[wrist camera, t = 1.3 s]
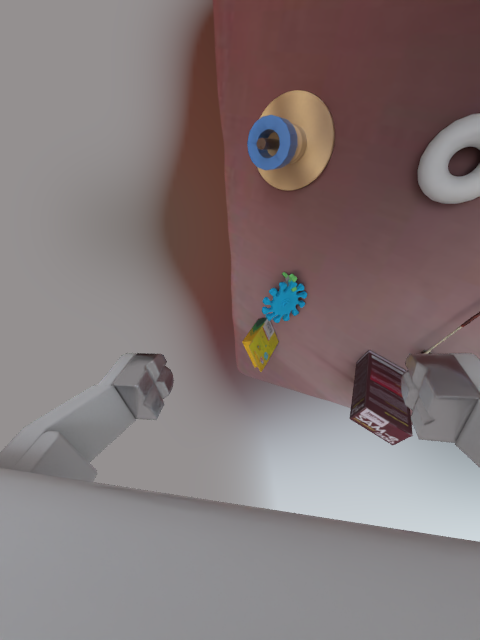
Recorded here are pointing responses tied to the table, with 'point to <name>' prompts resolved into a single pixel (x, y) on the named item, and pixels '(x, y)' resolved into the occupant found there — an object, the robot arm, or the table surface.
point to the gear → (284, 299)
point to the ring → (286, 139)
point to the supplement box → (380, 399)
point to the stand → (300, 139)
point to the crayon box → (260, 343)
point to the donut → (436, 159)
